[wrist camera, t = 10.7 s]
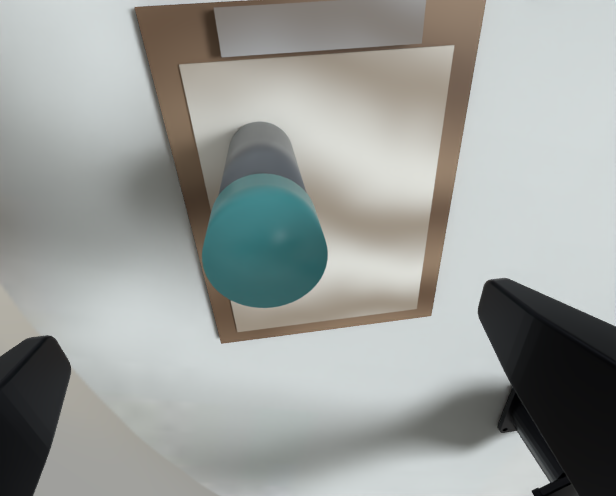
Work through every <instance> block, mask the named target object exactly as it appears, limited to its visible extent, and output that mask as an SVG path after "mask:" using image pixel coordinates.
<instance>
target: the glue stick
mask: <svg viewBox="0 0 616 496" xmlns="http://www.w3.org/2000/svg"><path fill="white" fill-rule="evenodd" d="M327 260H328V250H327V244H326V240H325V237H324V234H323V231H322V228H321V225H320V222H319V219H318V216H317V213H316V210H315V207H314V205H313V202H312V200H311V199H310V197H309V195H308V194H307V192H306V189H305V186H304V183H303V180H302V176H301V173H300V170H299V167H298V163H297V160H296V157H295V154H294V151H293V147H292V144H291V142H290V139H289V138H288V136H287V135H286V134H285V132H284V131H283V130H282V129H280V128H279V127H277V126H276V125H274V124H271V123H268V122H252V123H249V124H246V125H244V126H243V127H241V128H240V129H239V130H238V131H237V132H236V133H235V134H234V136H233V137H232V139H231V141H230V144H229V149H228V153H227V158H226V163H225V167H224V172H223V176H222V181H221V186H220V190H219V195H218V197H217V198H216V200H215V202H214V204H213V207H212V211H211V215H210V219H209V223H208V227H207V232H206V236H205V240H204V244H203V250H202V263H203V268H204V271H205V274H206V276H207V278H208V280H209V281H210V283H211V284H212V286H213V287H214V288H215V289H216V290H217V291H218V292H219V293H221V294H222V295H223V296H225V297H226V298H228V299H229V300H231V301H234V302H236V303H238V304H241V305H244V306H249V307H255V308H273V307H279V306H283V305H286V304H289V303H292V302H294V301H296V300H298V299H300V298H302V297H303V296H305V295H306V294H307V293H309V292H310V291H311V290H312V289H313V288H314V287H315V286H316V285H317V283H318V282H319V281H320V279H321V277H322V276H323V274H324V271H325V268H326V265H327Z"/></svg>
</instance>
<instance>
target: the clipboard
mask: <svg viewBox="0 0 616 496" xmlns="http://www.w3.org/2000/svg"><path fill="white" fill-rule="evenodd" d="M485 3H486V0H248V1H231V2H214V3H196V4H179V5H161V6H144V7H135V11H136V15H137V19H138V23H139V27H140V31H141V35H142V38H143V42H144V46H145V50H146V54H147V58H148V62H149V66H150V69H151V73H152V77H153V81H154V85H155V89H156V93H157V97H158V100H159V104H160V108H161V112H162V116H163V120H164V124H165V128H166V131H167V135H168V139H169V143H170V147H171V151H172V155H173V159H174V162H175V166H176V170H177V174H178V178H179V182H180V186H181V190H182V193H183V197H184V201H185V205H186V209H187V213H188V217H189V221H190V224H191V228H192V232H193V236H194V240H195V244H196V248H197V251H198V255H199V259H200V263H201V267H202V271H203V275H204V279H205V282H206V286H207V290H208V294H209V298H210V302H211V306H212V310H213V313H214V317H215V321H216V325H217V329H218V333H219V337H220V341H221V344H223V343H230V342H238V341H245V340H253V339H261V338H268V337H276V336H283V335H291V334H298V333H306V332H314V331H321V330H329V329H336V328H344V327H351V326H359V325H367V324H374V323H382V322H389V321H397V320H404V319H412V318H420V317H427V316H431V314H432V308H433V302H434V297H435V291H436V285H437V279H438V274H439V268H440V262H441V256H442V251H443V245H444V239H445V233H446V228H447V222H448V216H449V210H450V205H451V199H452V193H453V187H454V182H455V176H456V170H457V164H458V159H459V153H460V147H461V141H462V136H463V130H464V124H465V118H466V113H467V107H468V101H469V95H470V90H471V84H472V78H473V72H474V67H475V61H476V55H477V49H478V44H479V38H480V32H481V26H482V21H483V15H484V9H485ZM252 122H268V123H271V124H274V125H276V126H277V127H279V128H280V129H282V130H283V131H284V132H285V134H286V135H287V136H288V138H289V139H290V142H291V144H292V147H293V151H294V154H295V157H296V160H297V163H298V167H299V170H300V173H301V176H302V180H303V183H304V186H305V189H306V192H307V194H308V195H309V197H310V199H311V200H312V202H313V205H314V207H315V210H316V213H317V216H318V219H319V222H320V225H321V228H322V231H323V234H324V237H325V240H326V244H327V250H328V260H327V265H326V268H325V271H324V274H323V276H322V277H321V279H320V281H319V282H318V283H317V285H316V286H315V287H314V288H313V289H312V290H311V291H310V292H309V293H307V294H306V295H305V296H303V297H302V298H300V299H298V300H296V301H294V302H292V303H289V304H286V305H283V306H279V307H273V308H255V307H249V306H244V305H241V304H238V303H236V302H234V301H231V300H229V299H228V298H226V297H225V296H223V295H222V294H221V293H219V292H218V291H217V290H216V289H215V288H214V287H213V286H212V284H211V283H210V281H209V280H208V278H207V276H206V274H205V271H204V268H203V263H202V250H203V244H204V240H205V236H206V232H207V227H208V223H209V219H210V215H211V211H212V207H213V204H214V202H215V200H216V198H217V197H218V195H219V190H220V186H221V181H222V176H223V172H224V167H225V163H226V158H227V153H228V149H229V144H230V141H231V139H232V137H233V136H234V134H235V133H236V132H237V131H238V130H239V129H240V128H241V127H243V126H244V125H246V124H249V123H252Z"/></svg>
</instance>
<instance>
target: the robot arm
mask: <svg viewBox="0 0 616 496" xmlns="http://www.w3.org/2000/svg"><path fill="white" fill-rule="evenodd" d="M478 316H479V319H480V321H481V323H482V325H483V328H484V330H485V332H486V334H487V336H488V338H489V340H490V342H491V344H492V346H493V349H494V351H495V353H496V355H497V357H498V359H499V361H500V363H501V365H502V367H503V370H504V372H505V374H506V375H507V377H508V379H509V381H510V383H511V385H512V386H513V389H512V391H511V394H510V396H509V399H508V401H507V404H506V406H505V409H504V412H503V414H502V417H501V419H500V422H499V424H498V429H499V431H500V432H501V433H505V432H512V431H517V432H518V433H519V435H520V437H521V438H522V440H523V441H524V443H525V444H526V446H527V447H528V449H529V450H530V452H531V454H532V455H533V457H534V458H535V460H536V461H537V463H538V464H539V466H540V467H541V469H542V471H543V472H544V474H545V475H546V477H547V478H548V480H549V481H550V483H549V484H547V485H545V486H543V487H541V488H536V489H534V490H532V493H533V495H534V496H616V326H613V325H611V324H609V323H607V322H604V321H602V320H600V319H598V318H595V317H593V316H591V315H589V314H587V313H584V312H582V311H580V310H578V309H575V308H573V307H571V306H569V305H566V304H564V303H562V302H560V301H557V300H555V299H553V298H551V297H548V296H546V295H544V294H542V293H539V292H537V291H535V290H533V289H530V288H528V287H526V286H524V285H521V284H519V283H517V282H515V281H513V280H510V279H508V278H499V279H491V280H488V281H487V282H486V283H485V284H484V287H483V291H482V295H481V299H480V302H479V306H478ZM70 375H71V365H70V362H69V360H68V358H67V357H66V355H65V354H64V352H63V350H62V349H61V347H60V345H59V344H58V342H57V340H56V339H55V338H54V337H52V336H49V335H46V336H38V337H31V338H27V339H25V340H24V341H22V342H21V343H19V344H18V345H17V346H15V347H13V348H12V349H11V350H9V351H8V352H6V353H5V354H3V355H2V356H1V357H0V496H33V494H34V492H35V489H36V486H37V484H38V481H39V479H40V476H41V473H42V470H43V468H44V465H45V463H46V460H47V457H48V454H49V451H50V448H51V445H52V442H53V438H54V435H55V431H56V427H57V424H58V420H59V416H60V412H61V409H62V405H63V401H64V397H65V394H66V390H67V386H68V383H69V379H70Z"/></svg>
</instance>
